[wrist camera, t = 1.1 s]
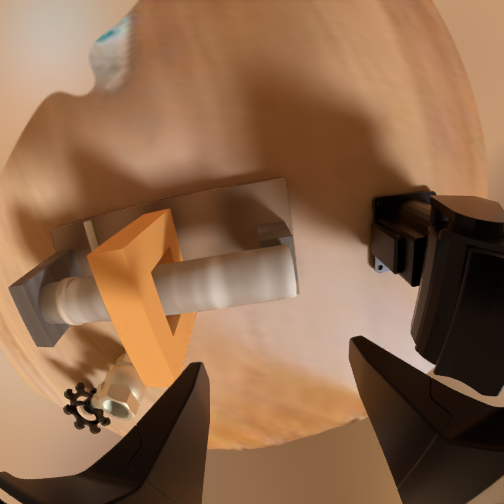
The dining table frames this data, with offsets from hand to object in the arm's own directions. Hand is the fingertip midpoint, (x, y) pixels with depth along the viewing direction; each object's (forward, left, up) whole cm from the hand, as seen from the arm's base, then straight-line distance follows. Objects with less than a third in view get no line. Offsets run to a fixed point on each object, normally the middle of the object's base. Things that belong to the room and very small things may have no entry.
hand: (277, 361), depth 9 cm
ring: (+7, 0, -11) cm, 13 cm away
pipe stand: (+8, 0, -13) cm, 15 cm away
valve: (+18, +13, -13) cm, 26 cm away
